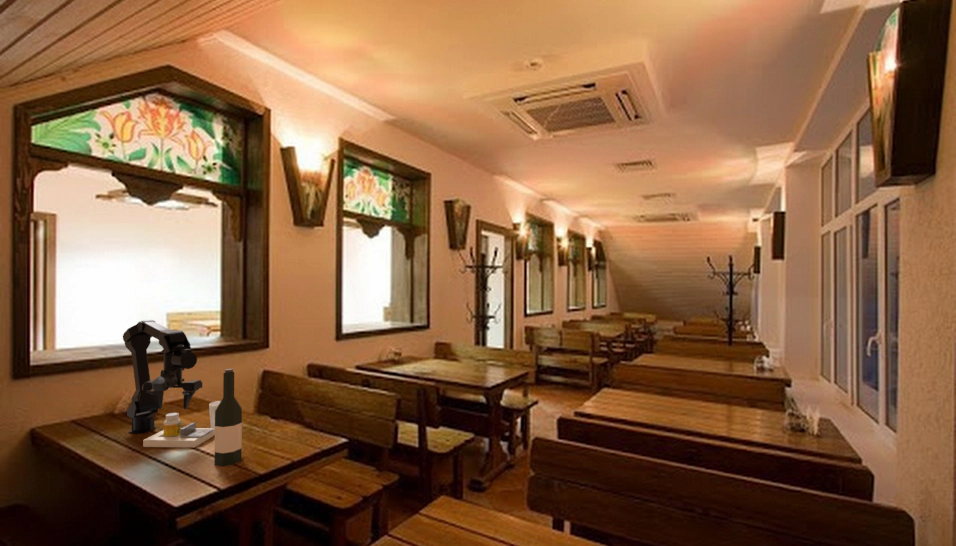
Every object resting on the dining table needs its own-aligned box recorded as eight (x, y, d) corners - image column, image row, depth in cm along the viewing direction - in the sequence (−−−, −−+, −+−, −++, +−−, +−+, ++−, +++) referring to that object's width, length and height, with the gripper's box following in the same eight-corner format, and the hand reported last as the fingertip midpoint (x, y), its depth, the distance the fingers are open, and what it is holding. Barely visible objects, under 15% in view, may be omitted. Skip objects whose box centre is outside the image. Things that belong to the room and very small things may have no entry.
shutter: (180, 437, 170) (180, 428, 170) (192, 430, 178) (193, 422, 178) (201, 437, 170) (201, 429, 170) (213, 430, 178) (213, 422, 178)
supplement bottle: (164, 439, 175) (164, 413, 175) (181, 437, 177) (181, 411, 177) (162, 444, 170) (162, 417, 170) (179, 441, 173) (180, 415, 173)
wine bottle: (220, 456, 159) (221, 366, 159) (246, 456, 160) (247, 366, 160) (208, 466, 151) (209, 372, 151) (236, 466, 152) (236, 372, 152)
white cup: (235, 425, 191) (236, 400, 191) (223, 432, 184) (223, 406, 183) (217, 424, 192) (217, 399, 192) (204, 431, 184) (204, 405, 184)
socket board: (143, 446, 167) (143, 439, 167) (167, 434, 180) (167, 427, 180) (194, 447, 167) (194, 440, 167) (214, 434, 180) (215, 428, 180)
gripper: (131, 370, 166) (130, 415, 166) (184, 370, 166) (184, 415, 166) (153, 364, 177) (152, 406, 177) (203, 364, 177) (203, 406, 177)
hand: (172, 408), depth 174 cm, fingers open, 9 cm apart
